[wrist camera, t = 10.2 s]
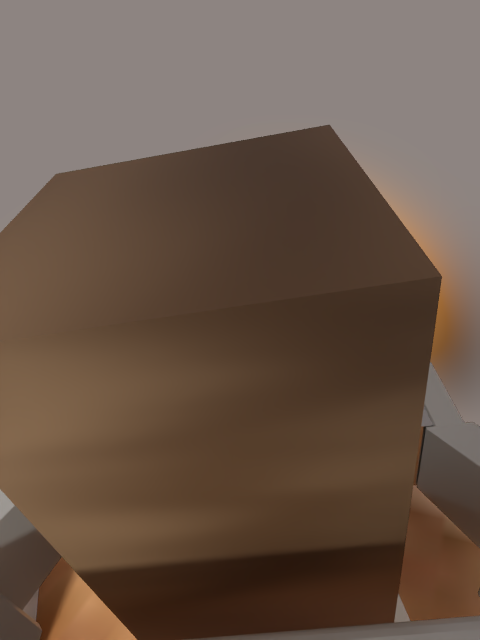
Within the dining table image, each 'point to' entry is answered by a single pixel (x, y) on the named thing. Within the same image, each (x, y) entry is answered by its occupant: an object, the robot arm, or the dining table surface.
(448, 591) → the dining table surface
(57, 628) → the dining table surface
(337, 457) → the walnut block
